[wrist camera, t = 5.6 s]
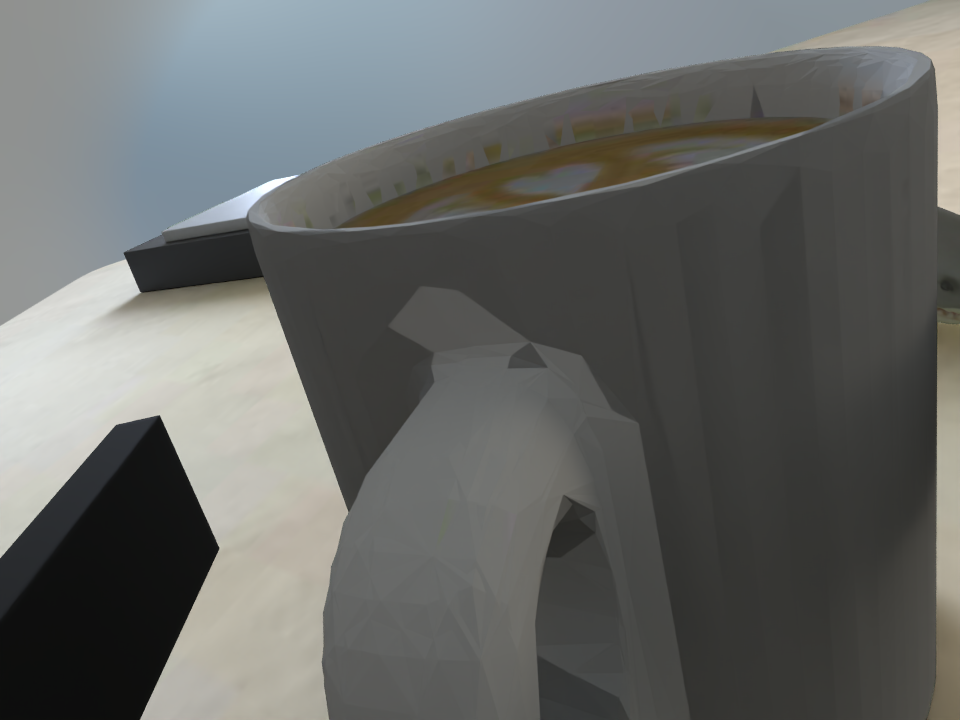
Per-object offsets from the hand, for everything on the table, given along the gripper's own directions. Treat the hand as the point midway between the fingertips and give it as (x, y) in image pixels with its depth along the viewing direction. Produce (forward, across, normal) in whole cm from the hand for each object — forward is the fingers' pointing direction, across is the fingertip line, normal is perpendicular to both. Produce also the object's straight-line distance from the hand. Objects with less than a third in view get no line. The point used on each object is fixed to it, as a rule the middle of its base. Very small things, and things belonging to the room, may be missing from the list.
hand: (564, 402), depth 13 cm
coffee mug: (0, 0, -6) cm, 6 cm away
